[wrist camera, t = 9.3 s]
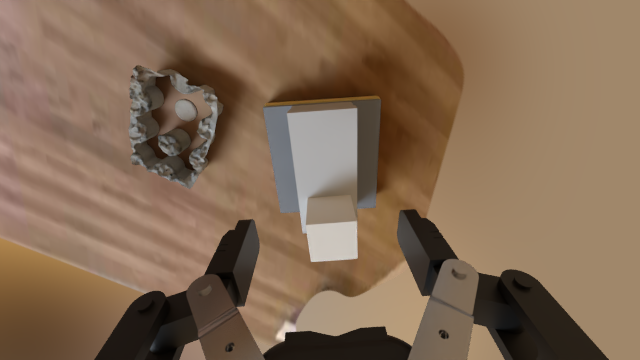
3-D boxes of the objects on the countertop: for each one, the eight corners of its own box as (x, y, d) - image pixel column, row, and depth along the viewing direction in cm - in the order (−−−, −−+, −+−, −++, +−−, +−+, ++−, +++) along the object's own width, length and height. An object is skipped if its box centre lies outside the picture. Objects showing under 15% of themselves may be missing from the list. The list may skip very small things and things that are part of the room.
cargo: (307, 198, 22) (305, 225, 19) (350, 194, 22) (356, 221, 19) (312, 231, 24) (311, 261, 21) (351, 228, 24) (357, 258, 21)
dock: (267, 101, 25) (262, 106, 22) (376, 94, 24) (382, 98, 22) (283, 201, 30) (280, 212, 28) (371, 196, 30) (376, 207, 28)
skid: (291, 103, 22) (286, 113, 19) (350, 99, 22) (357, 108, 19) (304, 210, 28) (302, 233, 24) (352, 207, 28) (357, 229, 24)
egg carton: (159, 57, 23) (130, 57, 19) (235, 97, 25) (221, 104, 21) (139, 150, 27) (112, 164, 24) (205, 178, 29) (188, 196, 25)
